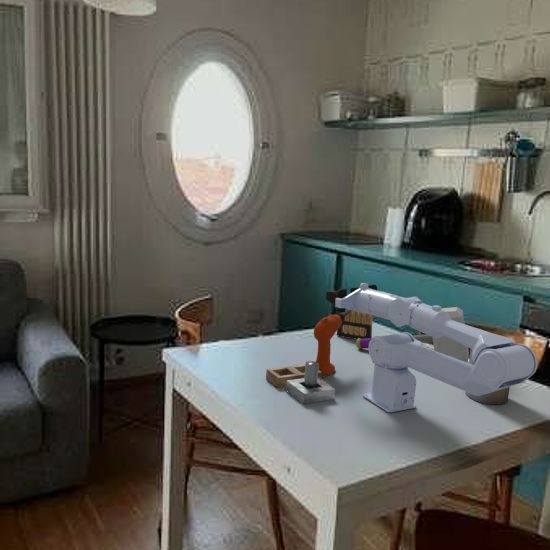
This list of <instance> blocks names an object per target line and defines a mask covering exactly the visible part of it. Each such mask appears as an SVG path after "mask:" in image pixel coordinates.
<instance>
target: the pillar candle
mask: <svg viewBox="0 0 550 550" xmlns="http://www.w3.org/2000/svg"><path fill="white" fill-rule="evenodd" d="M514 344H515V342H513V343H511V345H514ZM468 363H469V364H472V365H474V364H475V362H473V361H472V349H471V348H470V350H469V359H468ZM510 388H511V386H510V387H507V388H504V389H501V390H498V391H495V392H492V393H488V394H484V395H480V396H476V395H473V394H470V393H468V392H466V391H465V395H466V396H467V397H469V398H470V399H471V400H473V401H475V402H478V403H481V404H485V405H495V406H497V405H498V406H499V405H504V404H507V403H508V402H509V396H510V395H509V394H510Z"/></svg>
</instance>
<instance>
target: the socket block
mask: <svg viewBox="0 0 550 550" xmlns="http://www.w3.org/2000/svg"><path fill="white" fill-rule="evenodd" d="M285 391H286V392H287V391H288V392H289V394H290V395H291V396H292V395H293V398H295V399H296V398H297V401H299V403H301V404H303V405H305V404H306V403H307V404H312V402H313V403H317V402H324V401H325V402H326V401H329V400H335V392H336V389H335V388H334V387H333V386H331V385H330V384H328V383H327V382H325V381H323V380H322V379H321V380H320V379H319V378H318V380H317V388H312V389H307V388H305V387H304V378H301V379H294V380H287V381H286V387H285ZM288 392H287V393H288Z"/></svg>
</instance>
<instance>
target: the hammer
mask: <svg viewBox="0 0 550 550" xmlns="http://www.w3.org/2000/svg"><path fill="white" fill-rule="evenodd" d="M441 310H443V311H446V312H447V313H448V314H449V315H450V318H451V320H453V321H456V322H459V323H462V324H465V323H466V322H465V316H464V310H463V309H462V308H459V307H458V306H455V307H443V308H442V307H441ZM465 325H466V324H465ZM412 336H413V337H414V338H415V339H416V340H418V341H421V342H422V344H429V343H430V344H433V350H434V351H437V352H439V353H442V354H445V355H447V356H450V357H453V358H456V359H458V360H461V361H464V362H466V363H469V358H470V350H469V348H468V347H466V346H464V345H462V344H460V343H458V342H456V341H454V340H452V339H450V338H448V337H446V336H443V337H441V338H434V337H432V336H430V335H428V334H417V335H412ZM372 338H373V337H372ZM372 338H366V339H360V338H358V339H356V348H357V349H358V350H359V349H360V350H362V349H368V348H369V342H370V340H371V339H372Z"/></svg>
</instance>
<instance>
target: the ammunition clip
mask: <svg viewBox="0 0 550 550" xmlns="http://www.w3.org/2000/svg"><path fill="white" fill-rule="evenodd" d="M347 310H350V309H347V308H345V312H346V311H347ZM350 311H351V312H350V313H349V314H348V315H346V316H345V320H344V321H343V322H342V324H341V326H340V328H339V329H338V330H337V331H336V335H339V336H338V337H340V336H344V337H343V338H346V337H350V338H349V339H352V338H356V339H355V340H357V339H358V338H360V339H366V338H373V337H372V335H373V319H374V315H370V314H367V313H360V312H357V311H353V310H350ZM343 313H344V312H343ZM343 313H342V314H343Z"/></svg>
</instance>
